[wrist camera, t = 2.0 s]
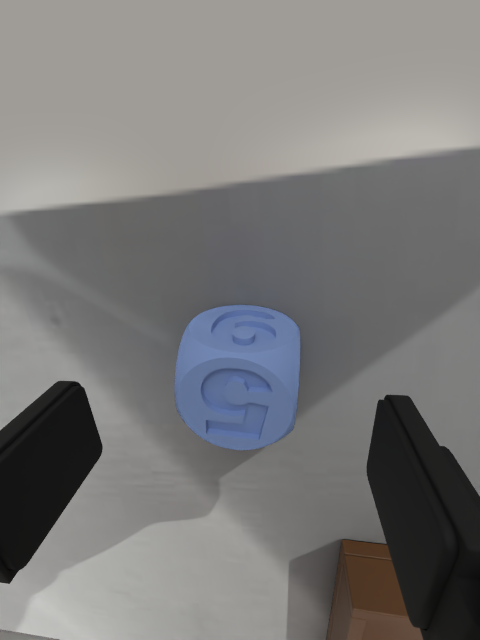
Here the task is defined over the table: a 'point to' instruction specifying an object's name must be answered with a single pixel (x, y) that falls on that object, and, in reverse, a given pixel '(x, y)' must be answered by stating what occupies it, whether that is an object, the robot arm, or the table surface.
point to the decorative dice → (239, 376)
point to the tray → (368, 597)
